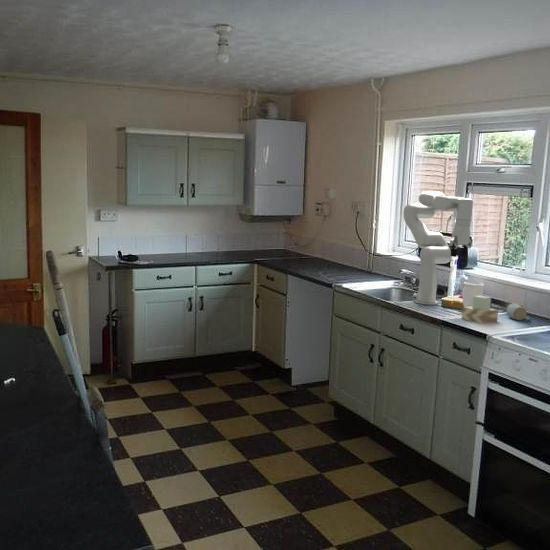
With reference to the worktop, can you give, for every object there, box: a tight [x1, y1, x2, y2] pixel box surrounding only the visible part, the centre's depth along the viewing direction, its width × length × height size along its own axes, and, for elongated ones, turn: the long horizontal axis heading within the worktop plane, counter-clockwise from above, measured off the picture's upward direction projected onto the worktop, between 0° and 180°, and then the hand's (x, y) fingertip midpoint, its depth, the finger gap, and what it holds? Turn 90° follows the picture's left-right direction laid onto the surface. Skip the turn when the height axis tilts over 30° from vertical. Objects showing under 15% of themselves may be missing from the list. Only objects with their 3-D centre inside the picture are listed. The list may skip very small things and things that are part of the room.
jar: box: [462, 281, 485, 307], centre depth 331 cm, size 11×10×15 cm
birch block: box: [461, 306, 499, 324], centre depth 310 cm, size 12×12×6 cm
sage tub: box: [472, 295, 492, 310], centre depth 309 cm, size 6×6×6 cm
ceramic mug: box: [505, 302, 531, 322], centre depth 317 cm, size 11×8×8 cm
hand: (458, 256), depth 321 cm, fingers open, 9 cm apart
